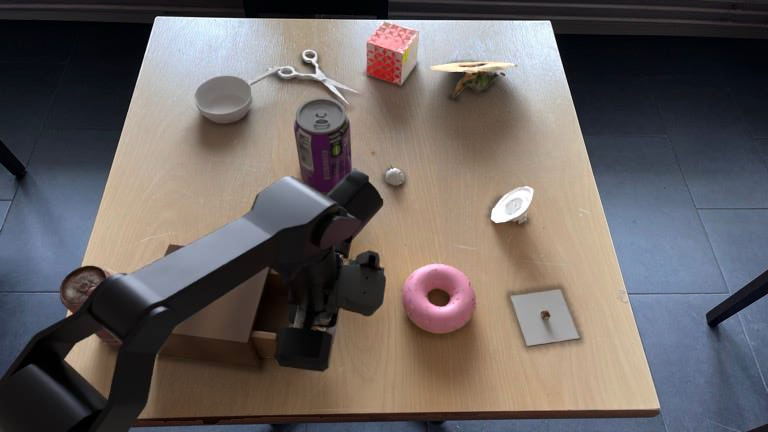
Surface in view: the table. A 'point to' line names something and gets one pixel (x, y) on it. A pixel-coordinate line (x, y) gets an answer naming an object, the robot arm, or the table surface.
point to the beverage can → (323, 143)
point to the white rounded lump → (394, 176)
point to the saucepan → (227, 96)
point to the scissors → (314, 75)
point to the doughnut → (432, 315)
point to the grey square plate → (544, 317)
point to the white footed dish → (513, 205)
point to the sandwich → (474, 73)
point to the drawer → (273, 317)
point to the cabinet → (220, 327)
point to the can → (85, 294)
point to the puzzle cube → (392, 52)
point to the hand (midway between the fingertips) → (321, 320)
